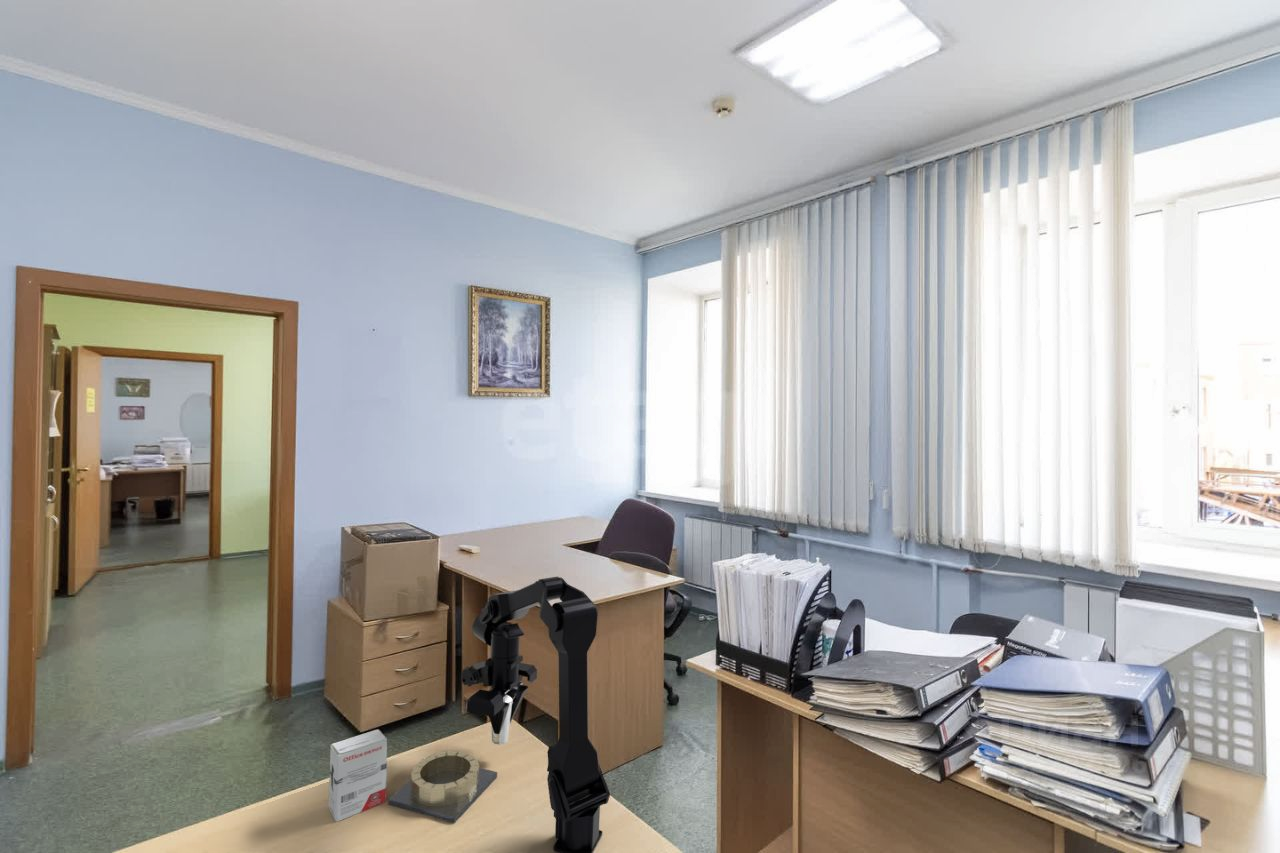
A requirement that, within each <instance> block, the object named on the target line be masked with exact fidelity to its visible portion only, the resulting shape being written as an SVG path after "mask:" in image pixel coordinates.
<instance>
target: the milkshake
mask: <svg viewBox="0 0 1280 853" xmlns="http://www.w3.org/2000/svg"><path fill="white" fill-rule="evenodd" d="M515 695H516V694H515ZM514 698H515V696H514ZM514 698H513V700H514ZM513 700H512V698H511V697H510V696H508V695H506V697H505V702H506V703H510V705H509V708H508V711H507V714H506V717H505V720H504V723H503V726H502V729H501V732H500V734H495V733H494V731H493V728H492V725H491V724H490V725H491V742H492V743H493V745H499V746H500V745H504V744H506V743H507V742H508V741H509V734H510V724H511V723H510V717H511V710H512V703H513Z"/></svg>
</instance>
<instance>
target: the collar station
mask: <svg viewBox="0 0 1280 853" xmlns="http://www.w3.org/2000/svg"><path fill="white" fill-rule="evenodd" d="M497 778H498V771H495V770H490V769H486V768H482V767H480V763H479V761H478V759H477V758H476V757H475V756H473V755H472V754H471V753H468V752H464V751H460V750H459V751H458V750H457V751H455V750H453V751H452V750H451V751H449V750H448V751H447V750H446V751H443V752H442V751H441V752H438V753H434V754H431V755H429V756H428V757H425V758H423V759H421V761H419V762H418V763H417V764H415V766H414V767H413V769H412V772H411V774H410V780H409V781H408V782H406V783H405V784H404V785H403V786H402V787H401V788H400V789H399V790H397V791H396V792H395V793H394V794H393V795H392V796H390V797H389V798H388V800H387V805H388V806H392V807H396V808H399V809H402V810H405V811H409V812H414V813H416V814H420V815H424V816H428V817H431V818H435V819H439V820H443V821H445V822H449V823H453V824H456V822H458V820H459V819H460V818H461V817H462V816H463V814H465V813H466V812H467V811H468V810H469V808H471V806H472V805H473V804H474V803H476V801H477V799H479V797H480V796H481V795H482V794H483V793H484V792H485V791H486V790H487V789H488V788H489V787H490V786H491V785H492V783H493V782H494V781H495V780H496V779H497Z"/></svg>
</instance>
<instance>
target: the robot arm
mask: <svg viewBox="0 0 1280 853" xmlns="http://www.w3.org/2000/svg"><path fill="white" fill-rule="evenodd" d="M558 599H559V600H560V601H559V602H558V601H557V602H554V603H553V604H551V603H550V601H553V600H558ZM539 605H540V606H539ZM536 606H539V617H540V619H541V620H542V622H543V623H544V625H545V626H546V627H547V628H548V629H547V630H548V637H549V640H550V641H551V643H552V644H553V646H554V648H555V649H556V650H557V654H558V733H559V734H558V740H557V742H556V743H554V744H552V745H549V746H548V749H547V752H546V753H547V768H546V771H547V772H548V773H547V774H548V775H547V779H546V780H547V787H548V795H549V797H548V798H549V803H550V808H551V810H552V811H553V818H554V819H555V827H554V828H555V832H554V838H555V839H556V841H555V842H554V845H553V846H552V847H553V851H554V852H558V853H594V851H595V850H596V848H597V846H598V844H599V842H600V840H601V838H602V837H603V831H602V830H600V818H601V817H600V814H601V812H600V811H601V806H603V805H606V804H608V803H609V800H610V796H611V793H610V790H609V787H608V784H607V782H606V780H605V777H604V774H603V771H602V768H601V766H600V763H599V756H598V755H599V754H598V751H597V750H596V748H595V746H594V744H593V743H592V741H591V740H590V738H589V696H588V695H589V694H588V693H589V688H588V687H589V685H588V683H589V681H588V680H589V678H588V675H589V674H588V673H589V672H588V652H589V650H590V648H591V646H592V644H593V643H594V640H595V639H596V635H597V631H598V630H597V629H598V627H597V626H598V618H599V612H598V608H597V606H596V604H595V603H594V602H593V601H592V599H591V598H590V597H588V595H587V594H586V593H585V591H582V589H581V590H580V589H578V588H577V587H575V586H572V585H570V584H568V582H566V581H565V579H564V578H563V577H560V576H552V577H551V576H550V577H545V578H539V579H538V580H536V581H535V582H534V583H531V584H529V585H526V586H524V587H522V588H521V589H516V590H511V591H504V592H501V593H500V592H499V593H493V594H491V595H489V597H488V601H487V602H486V603H485V606H484V607H483V608H481V612H480V614H479V615H477V617H476V618H475V619H474V621H473V623H472V624H471V629H472V633H473V634H474V636H475V637H477V638H478V639H479V640H480V641H481V642H483V643H485V644H486V645H487V646H489V647H490V657H489V658H488V659H486V660H485V661H481V662H476V663H474V664H472V665H470V666H466V667H464V668H463V669H462V670H461V677H460V681H461V682H462V684H463V685H464V686H467V687H468V688H469V687H472V686H474V685H478V684H482V686H483V687H485V688H489V687H490V689H489V690H485V689H479V690H477V691H476V692H475V693H473V694H472V695H471V696H470V697H468V699H466V701H465V704H466V705H465V711H466V713H471V714H476V715H480V716H484V717H488V718H489V721H490V723H491V724H490V725H492V728H493V731H494V733H495V734H500V732H501V729H502V726H503V723H504V720H505V717H506V714H507V711H508V708H509V705H510V703H506V702H505V697H506V695H508V696H510V697H511V698H512V700H513V698H514V696H515V698H514V700H513V703H512V710H511V717H510V724H511V723H512V720H513V719H514V716H515V715H516V713H517V710H518V708H519V706H520V704H521V701H522V700H523V698H524V696H525V694H526V692H527V690H528V689H529V686H528V685H525V684H524V685H523V678H524V677H525V678H526V680H527V682H528V683H530V684H532V683H533V682H534V681H536V680H537V676H538V669H537V668H536V666H535V665H534V664H530V663H523V659H524V656H523V655H521V654H520V637H523V636H524V634H525V632H524V630H523V629H522V628H521V627H520V626H519V623H518V622H516V623H512V622H509V621H513V620H519V619H522V618H524V617H525V616H526V615H527V614H528V613H530V609H531V608H533V607H536ZM515 694H516V695H515ZM492 728H491V729H492Z"/></svg>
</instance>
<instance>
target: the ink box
mask: <svg viewBox="0 0 1280 853" xmlns="http://www.w3.org/2000/svg"><path fill="white" fill-rule="evenodd" d="M329 756H330V757H329V761H330V762H329V783H328V785H329V786H328V787H329V789H328V810H329V812H330V814H331V816H332V817H333V819H334V822H336V823H337V822H340V821H342V820H345V819H348V818H350V817H353V816H355V815H356V814H359V813H362V812H364V811H367V810H369V809H372V808H375V807H377V806H379V805H383V804H384V803H386V802H387V773H388V772H387V771H388V770H387V769H388V767H387V765H388V762H387V761H388V738H387V737H386V736H385V734H384V733H382V731H381V730H380V729H374V730H371V731H368V732H366V733H365V732H364V733H362V734H359V735H356V736H352V737H349V738H346V739H343V740H340V741H337V742H334V743H331V744H330V752H329Z"/></svg>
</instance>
